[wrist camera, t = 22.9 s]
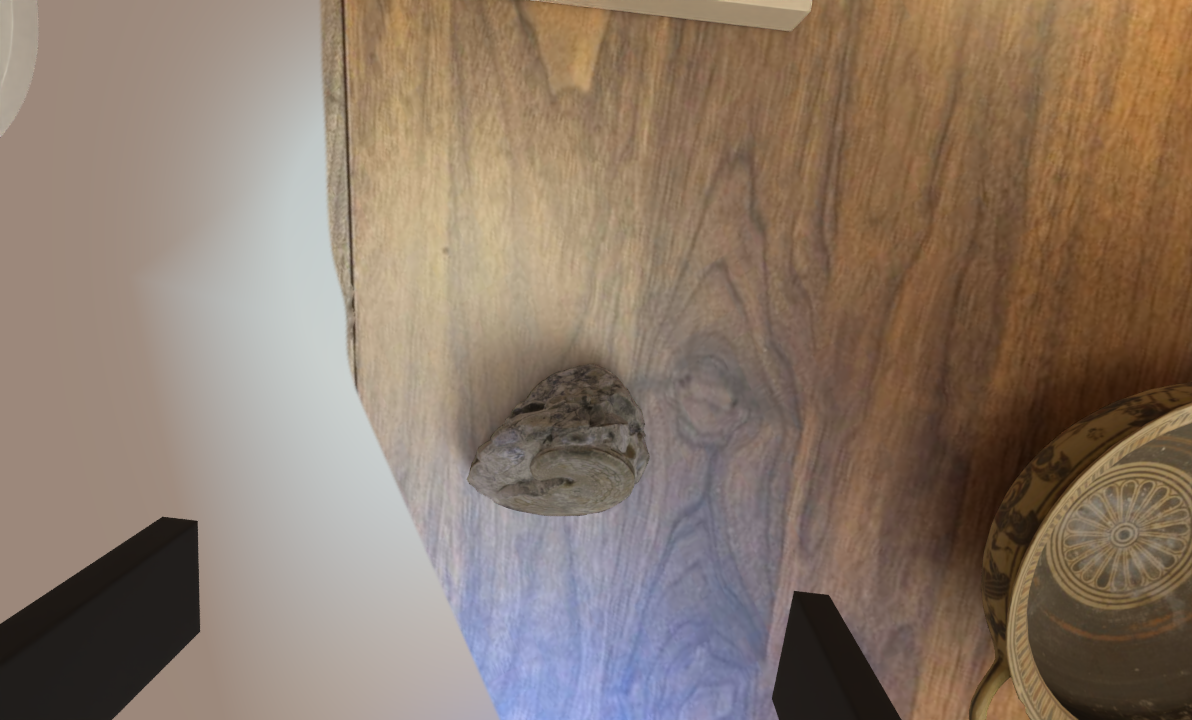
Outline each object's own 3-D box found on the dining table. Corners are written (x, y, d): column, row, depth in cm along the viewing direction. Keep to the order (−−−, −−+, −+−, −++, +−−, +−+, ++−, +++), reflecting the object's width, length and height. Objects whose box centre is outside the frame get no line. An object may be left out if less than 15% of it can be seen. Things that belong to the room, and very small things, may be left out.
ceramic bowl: (1012, 761, 46) (1121, 908, 36) (806, 533, 42) (865, 627, 32) (1408, 505, 41) (1658, 594, 31) (1212, 223, 37) (1425, 224, 28)
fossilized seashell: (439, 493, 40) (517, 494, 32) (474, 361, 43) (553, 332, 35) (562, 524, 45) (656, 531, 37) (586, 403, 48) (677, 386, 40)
